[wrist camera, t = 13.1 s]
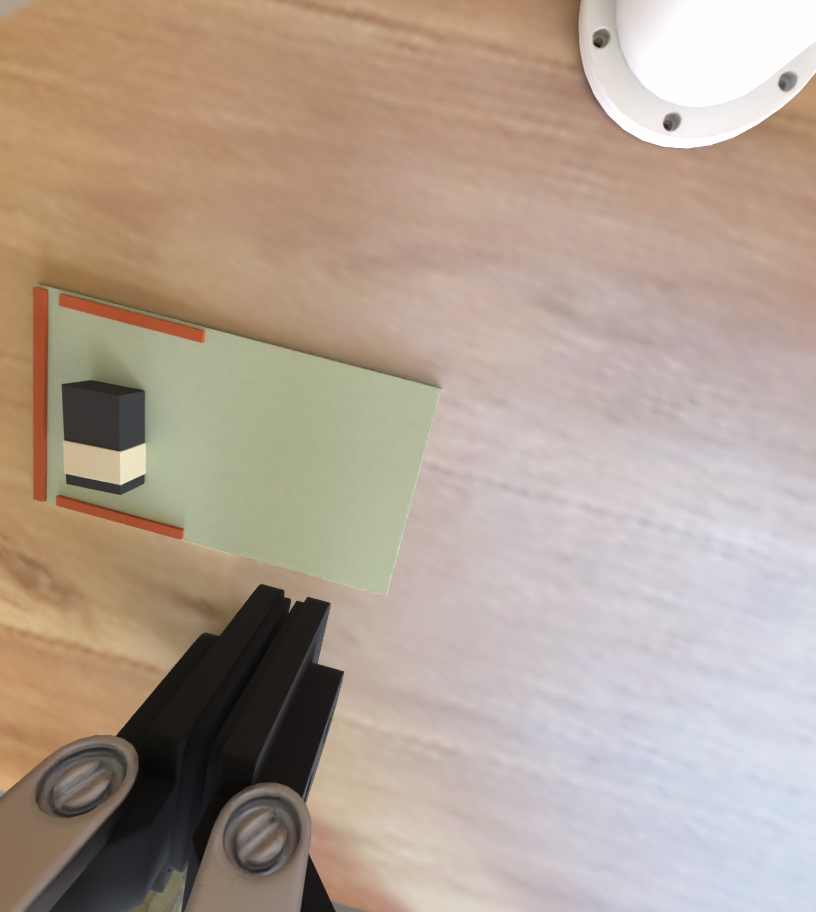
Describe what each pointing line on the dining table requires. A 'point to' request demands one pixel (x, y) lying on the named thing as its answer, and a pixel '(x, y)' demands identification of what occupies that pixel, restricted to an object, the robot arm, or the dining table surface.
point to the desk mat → (239, 439)
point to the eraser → (104, 436)
